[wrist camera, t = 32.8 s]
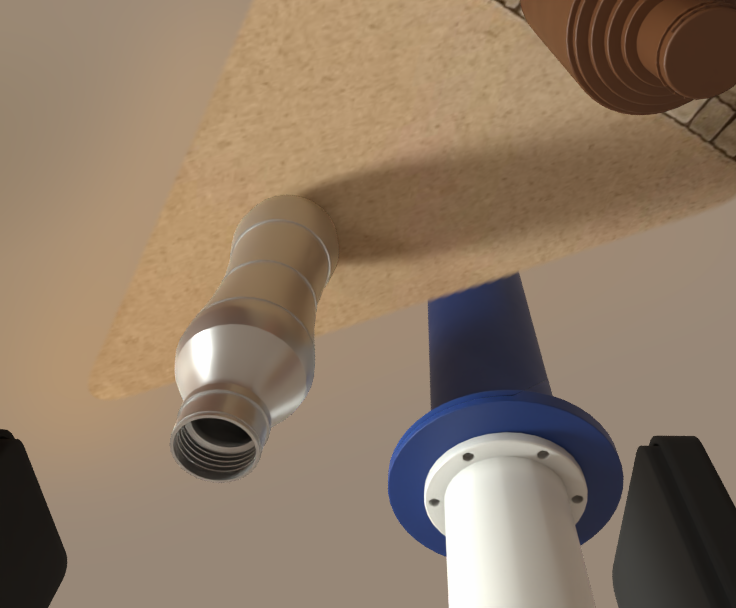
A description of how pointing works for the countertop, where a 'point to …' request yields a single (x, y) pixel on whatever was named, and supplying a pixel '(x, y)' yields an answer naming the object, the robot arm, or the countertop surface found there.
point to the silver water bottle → (253, 339)
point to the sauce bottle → (641, 49)
